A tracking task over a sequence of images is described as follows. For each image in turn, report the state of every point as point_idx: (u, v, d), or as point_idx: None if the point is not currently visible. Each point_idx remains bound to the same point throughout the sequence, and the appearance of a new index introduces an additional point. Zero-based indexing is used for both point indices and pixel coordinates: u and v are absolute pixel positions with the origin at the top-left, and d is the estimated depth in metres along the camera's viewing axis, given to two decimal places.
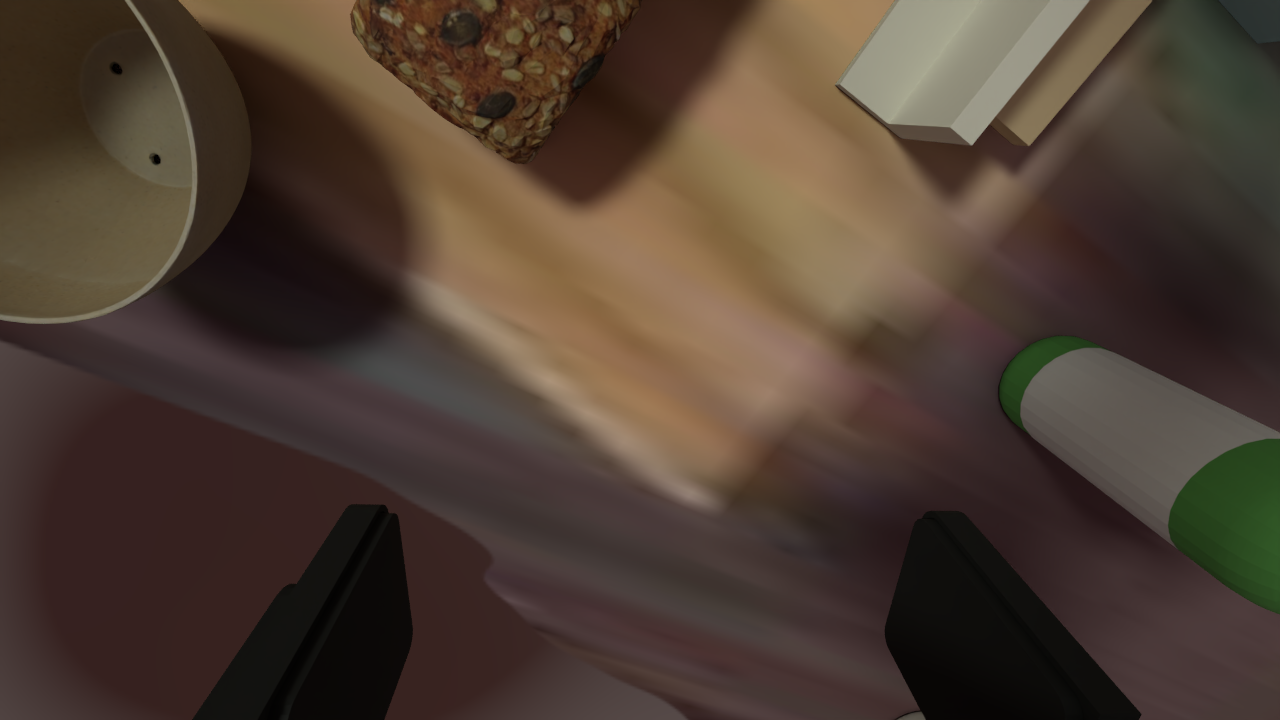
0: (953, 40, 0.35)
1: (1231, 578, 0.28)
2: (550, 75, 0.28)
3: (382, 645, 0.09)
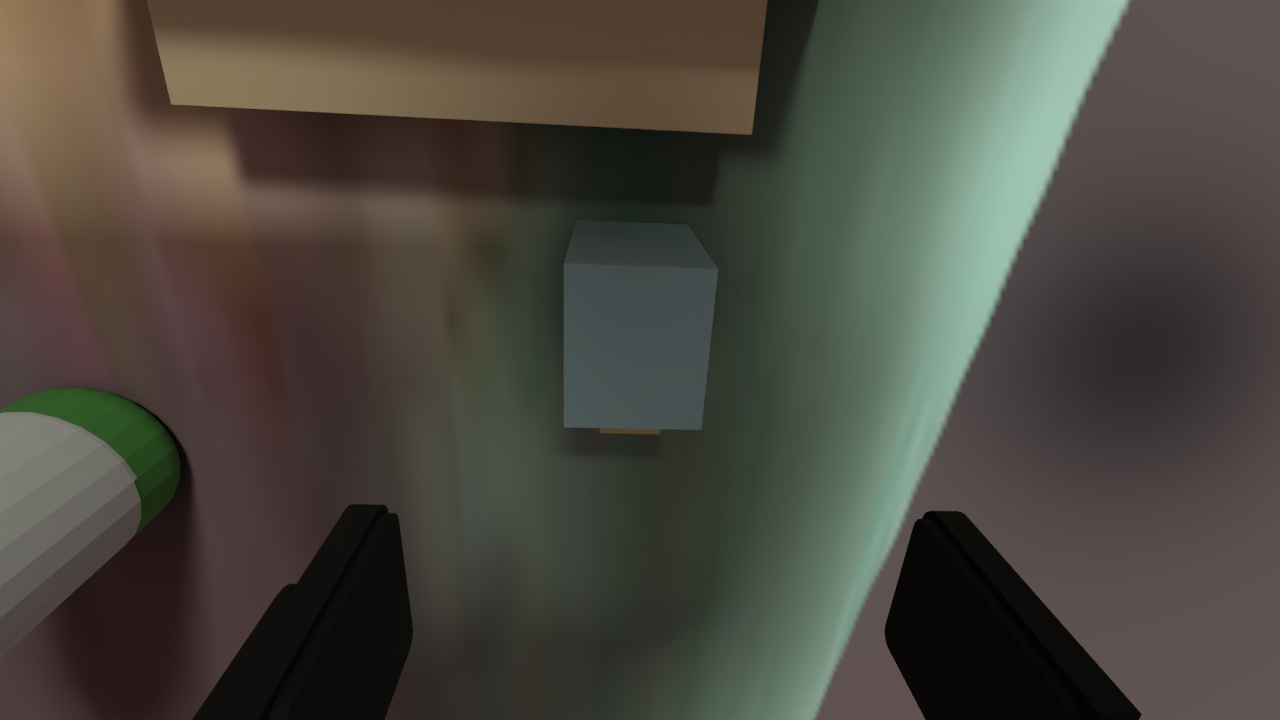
0: None
1: None
2: None
3: (382, 645, 0.09)
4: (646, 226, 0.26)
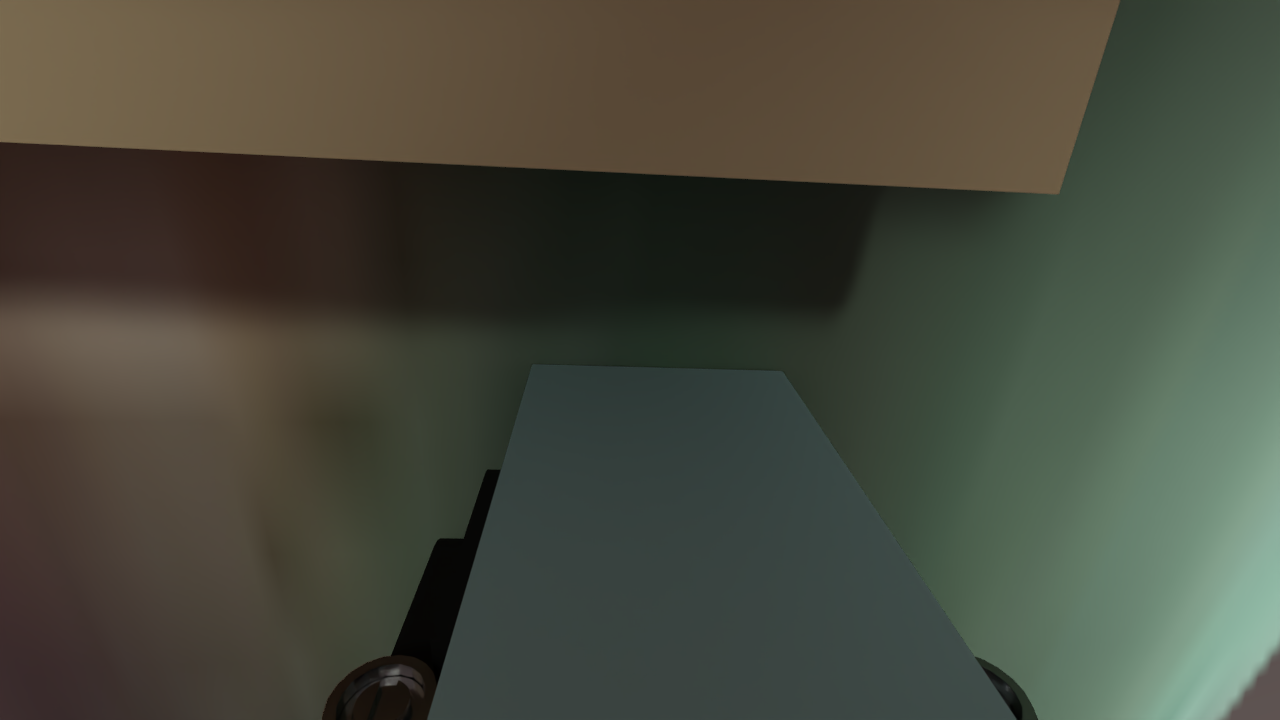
0: None
1: None
2: None
3: None
4: (694, 389, 0.11)
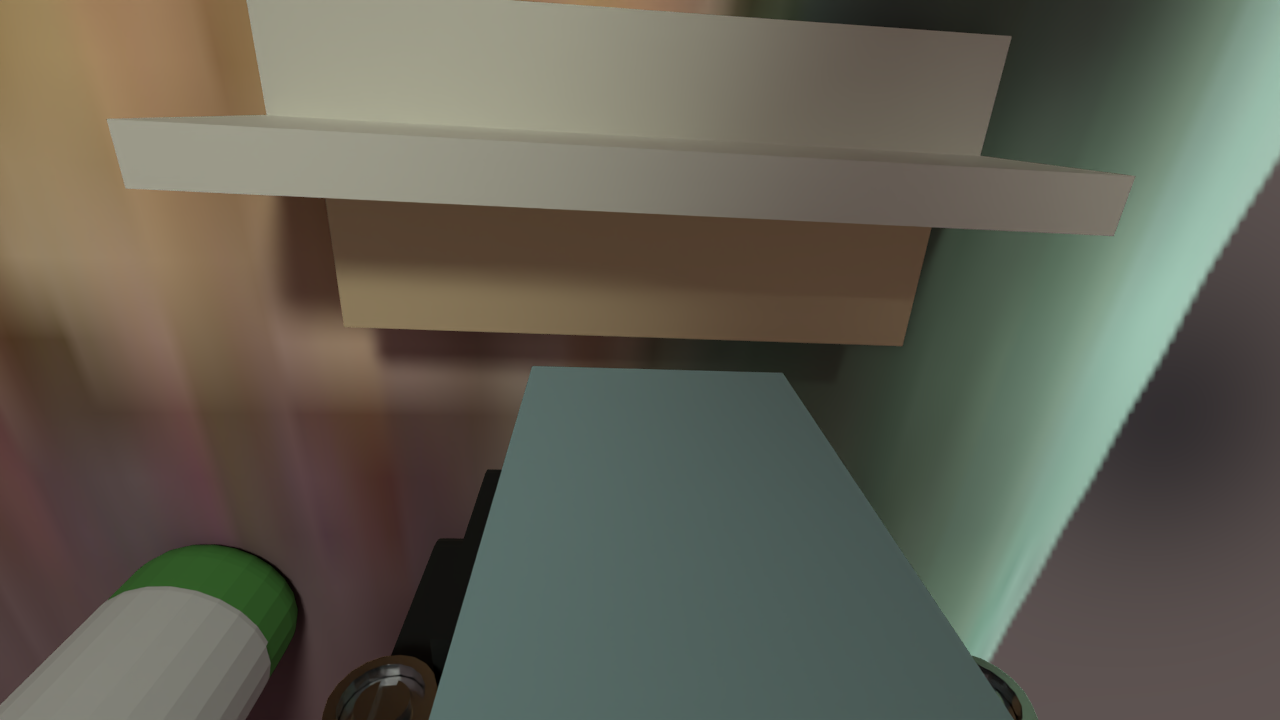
0: (423, 124, 0.21)
1: None
2: None
3: None
4: (694, 391, 0.11)
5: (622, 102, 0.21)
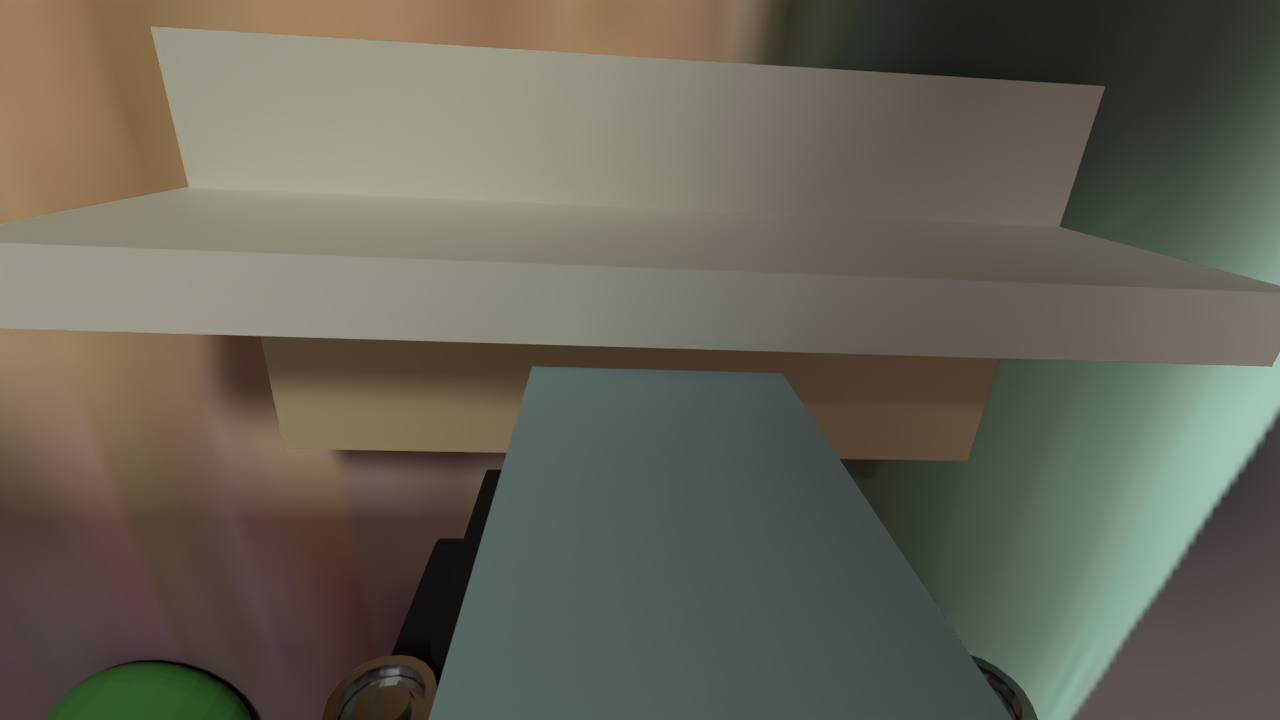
0: (381, 197, 0.17)
1: None
2: None
3: None
4: (694, 391, 0.11)
5: (625, 168, 0.17)
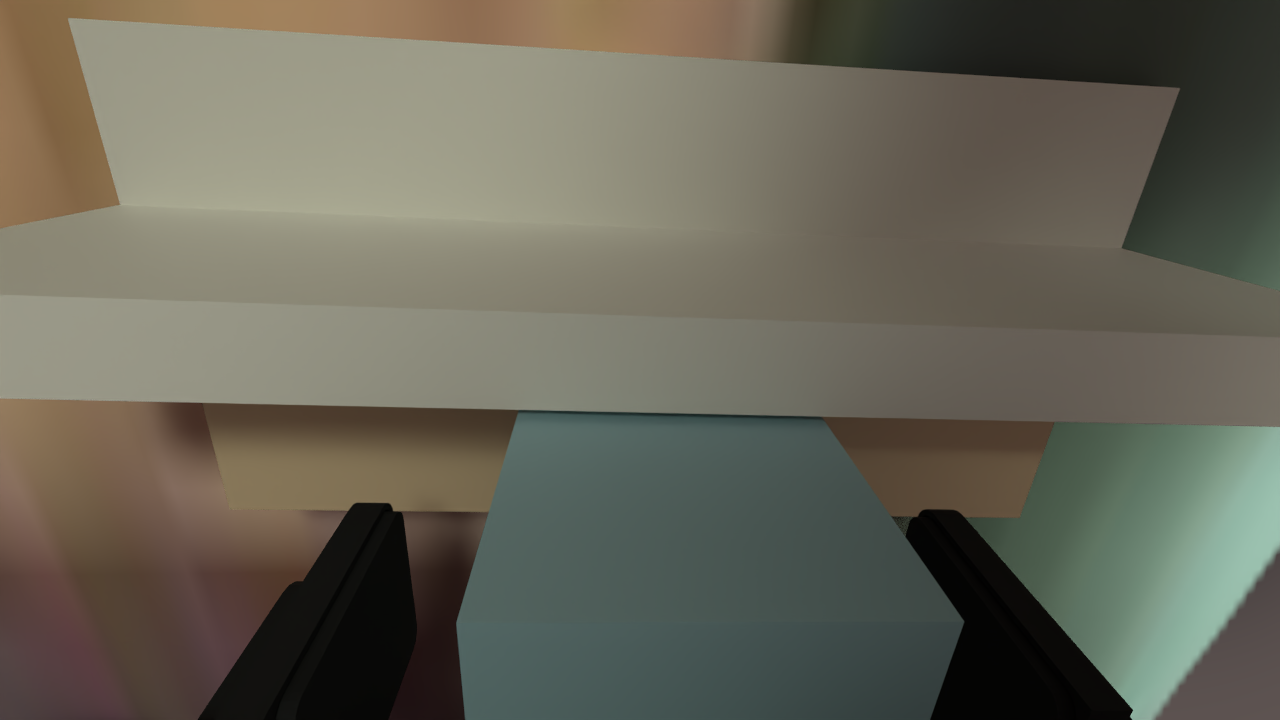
0: (344, 216, 0.15)
1: None
2: None
3: (387, 642, 0.09)
4: None
5: (626, 182, 0.15)
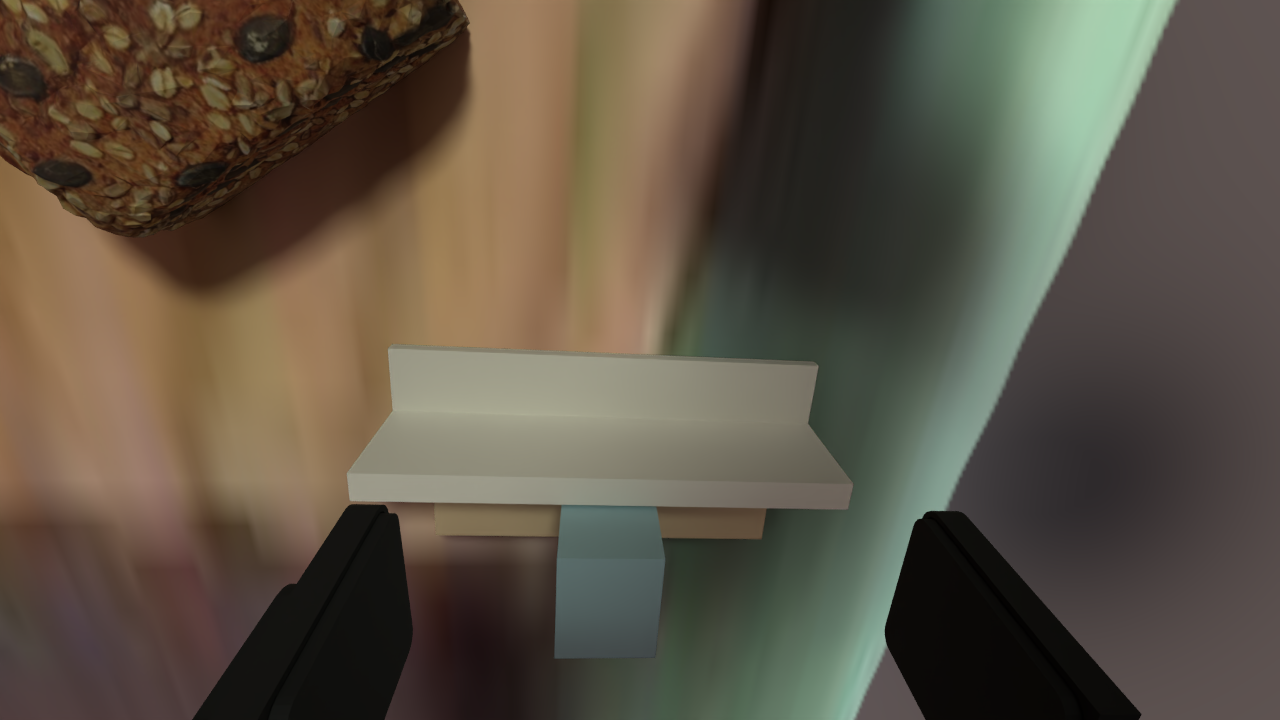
0: (483, 415, 0.36)
1: None
2: (142, 164, 0.23)
3: (382, 645, 0.09)
4: None
5: (598, 401, 0.37)
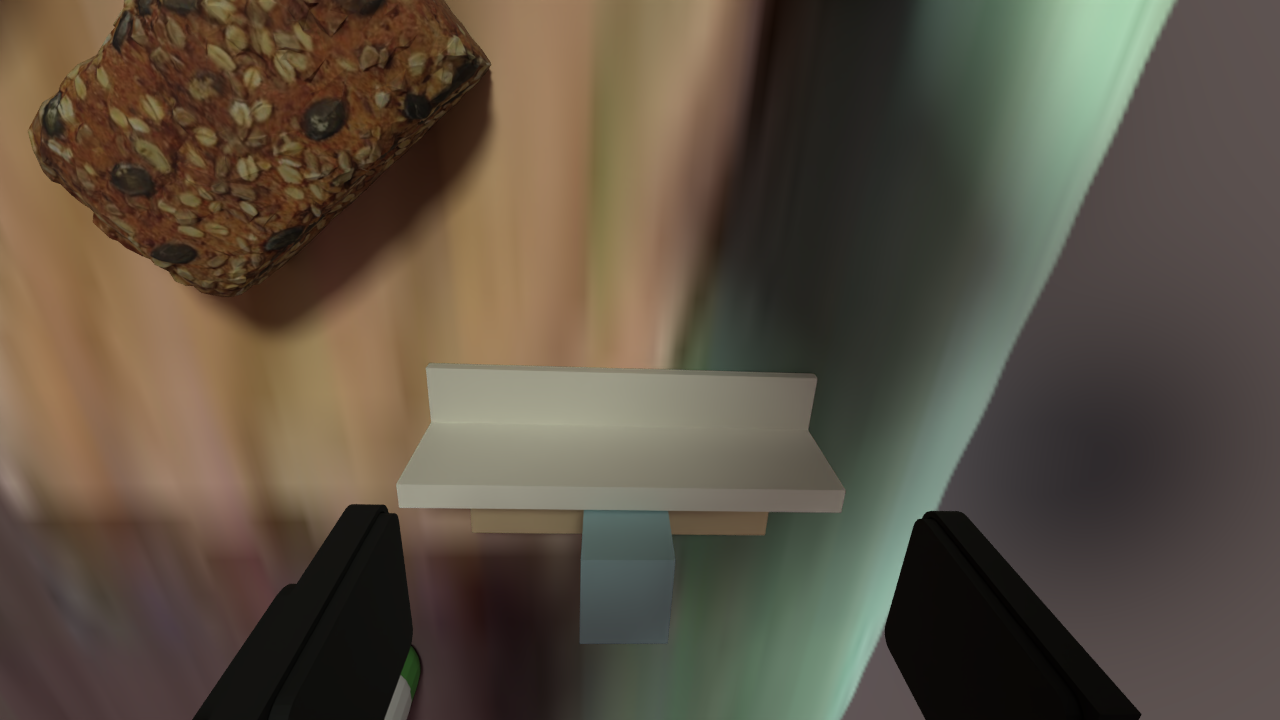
0: (512, 426, 0.40)
1: None
2: (236, 237, 0.27)
3: (382, 645, 0.09)
4: None
5: (615, 411, 0.40)
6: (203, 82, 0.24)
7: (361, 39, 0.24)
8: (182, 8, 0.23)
